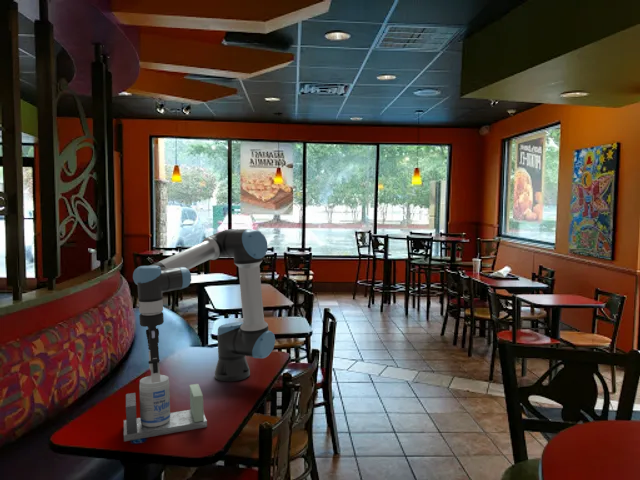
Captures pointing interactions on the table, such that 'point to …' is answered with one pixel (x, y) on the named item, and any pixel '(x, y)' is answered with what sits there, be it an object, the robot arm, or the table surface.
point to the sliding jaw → (196, 403)
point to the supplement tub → (154, 401)
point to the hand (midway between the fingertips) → (154, 375)
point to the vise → (138, 431)
